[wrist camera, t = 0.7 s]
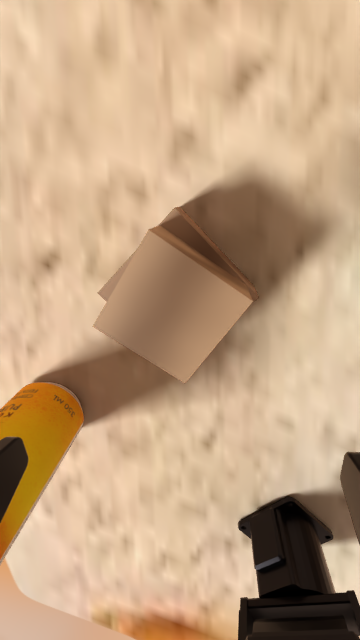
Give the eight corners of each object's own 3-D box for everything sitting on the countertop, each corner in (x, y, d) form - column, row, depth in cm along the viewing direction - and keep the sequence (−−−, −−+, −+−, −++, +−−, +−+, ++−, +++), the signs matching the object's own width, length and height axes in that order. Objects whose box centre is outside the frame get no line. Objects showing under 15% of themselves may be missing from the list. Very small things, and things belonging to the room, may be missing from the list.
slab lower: (252, 283, 20) (259, 297, 17) (181, 344, 22) (176, 365, 19) (180, 206, 18) (174, 207, 15) (113, 280, 21) (97, 293, 18)
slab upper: (246, 285, 17) (252, 301, 14) (189, 357, 19) (184, 383, 16) (160, 225, 16) (148, 229, 13) (111, 307, 18) (92, 326, 15)
